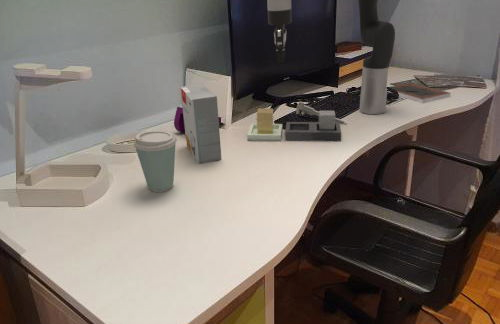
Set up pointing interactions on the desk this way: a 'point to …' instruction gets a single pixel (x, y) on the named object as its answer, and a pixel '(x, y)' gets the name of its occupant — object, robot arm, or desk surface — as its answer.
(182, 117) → the mounting bracket
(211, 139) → the hard drive box
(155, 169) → the disposable coffee cup
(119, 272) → the desk surface
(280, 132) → the parts tray
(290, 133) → the grey metal frame
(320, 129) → the grey upright block
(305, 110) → the caliper
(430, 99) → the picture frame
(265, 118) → the golden yellow block
